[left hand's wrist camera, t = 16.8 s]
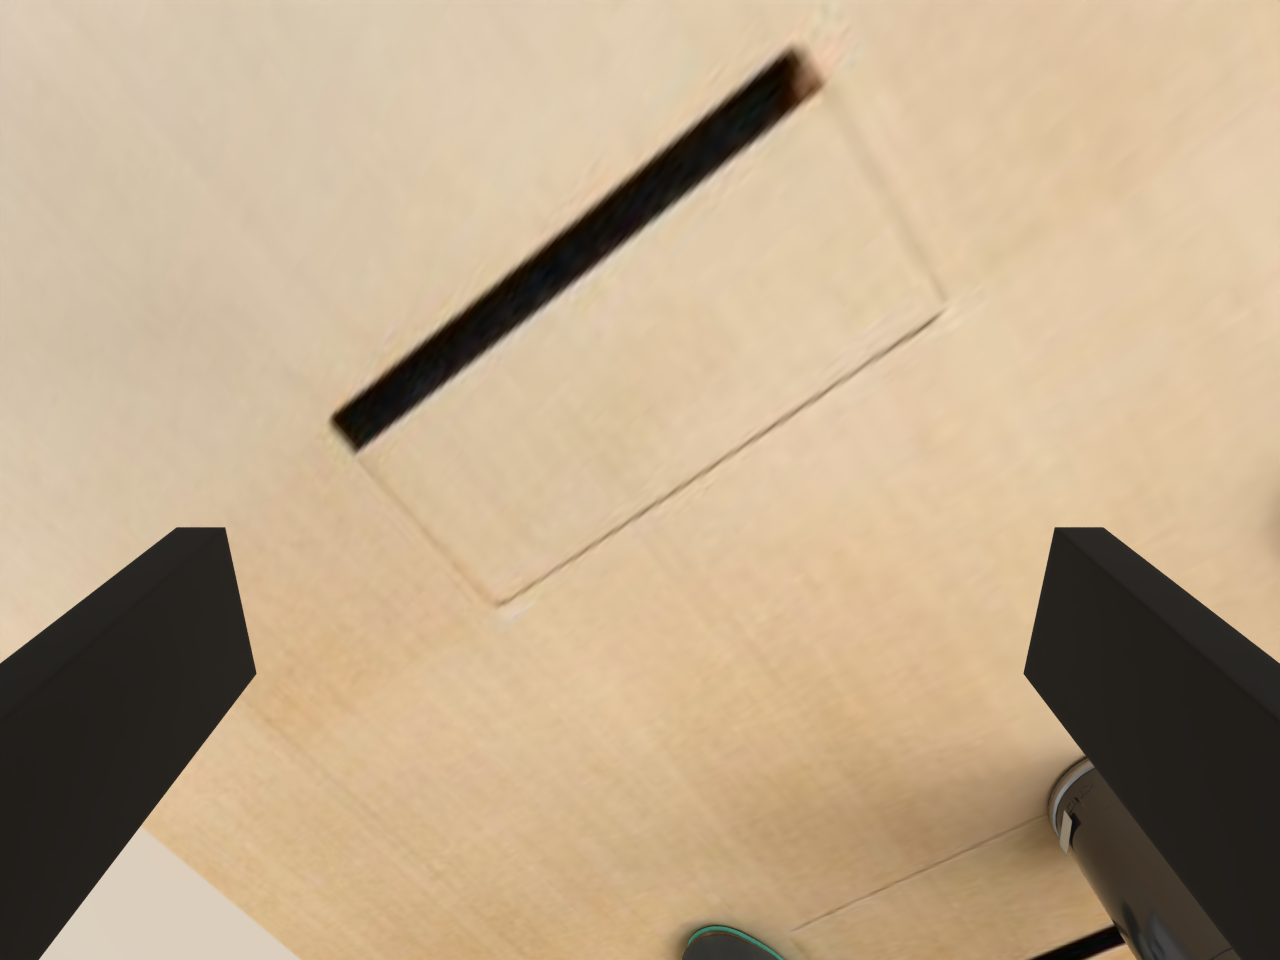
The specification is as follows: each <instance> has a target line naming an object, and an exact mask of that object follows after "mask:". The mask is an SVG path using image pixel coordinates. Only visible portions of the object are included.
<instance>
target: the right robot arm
mask: <svg viewBox="0 0 1280 960" xmlns="http://www.w3.org/2000/svg"><path fill="white" fill-rule="evenodd" d="M1048 817H1049V821H1050V824H1051V826H1052V828H1053V830H1054V831H1055V833H1056V835H1057V836H1058V838H1059V839H1060V843H1059V844H1060V846H1061V847H1062V849H1063V851H1064V852H1065V854H1066V855H1067V851H1069V852H1070V854H1071V855H1072V857H1073V859H1074V860H1075V862H1076V863H1077V865H1078V867H1079V868H1080V870H1081V872H1082V873H1083V875H1084V877H1085V878H1086V880H1087V882H1088V883H1089V885H1090V886H1091V888H1092V889H1093V891H1094V893H1095V894H1096V896H1097V897H1098V899H1099V901H1100V902H1101V904H1102V905H1103V907H1104V909H1105V910H1106V912H1107V913H1108V915H1109V916H1110V918H1111V920H1112V921H1113V923H1114V924H1115V926H1116V928H1117V929H1118V931H1119V932H1120V934H1121V936H1122V937H1123V939H1124V940H1125V942H1126V944H1127V945H1128V947H1129V948H1130V950H1131V951H1132V953H1133V955H1134V956H1135V958H1136V959H1137V960H1241V959H1240V957H1239V956H1238V955H1237V953H1236V952H1235V951H1234V950H1233V948H1232V947H1231V946H1230V944H1229V943H1228V942H1227V940H1226V939H1225V938H1224V936H1223V935H1222V934H1221V932H1220V931H1219V930H1218V928H1217V927H1216V926H1215V925H1214V923H1213V922H1212V921H1211V919H1210V918H1209V917H1208V915H1207V914H1206V913H1205V911H1204V910H1203V909H1202V907H1201V906H1200V905H1199V904H1198V902H1197V901H1196V900H1195V898H1194V897H1193V896H1192V894H1191V893H1190V892H1189V890H1188V889H1187V888H1186V886H1185V885H1184V884H1183V883H1182V881H1181V880H1180V879H1179V877H1178V876H1177V875H1176V873H1175V872H1174V871H1173V869H1172V868H1171V867H1170V865H1169V864H1168V863H1167V862H1166V860H1165V859H1164V858H1163V856H1162V855H1161V854H1160V852H1159V851H1158V850H1157V848H1156V847H1155V846H1154V844H1153V843H1152V842H1151V840H1150V839H1149V838H1148V837H1147V835H1146V834H1145V833H1144V831H1143V830H1142V829H1141V827H1140V826H1139V825H1138V823H1137V822H1136V821H1135V819H1134V818H1133V817H1132V816H1131V814H1130V813H1129V812H1128V810H1127V809H1126V808H1125V806H1124V805H1123V804H1122V802H1121V801H1120V800H1119V798H1118V797H1117V796H1116V795H1115V793H1114V792H1113V791H1112V789H1111V788H1110V787H1109V785H1108V784H1107V783H1106V781H1105V780H1104V779H1103V777H1102V776H1101V775H1100V774H1099V772H1098V771H1097V770H1096V768H1095V767H1094V766H1093V764H1092V763H1091V762H1090V760H1089V759H1088V758H1086V759H1085V760H1083V761H1081V762H1079V763H1078V764H1077V765H1075V766H1074V767H1073V768H1071V769H1070V770H1069V771H1068V772H1067V773H1066V774H1065V775H1064V776H1063V777H1062V778H1061V779H1060V780H1059V782H1058V783H1057V784H1056V786H1055V788H1054V790H1053V792H1052V794H1051V797H1050V799H1049V804H1048Z"/></svg>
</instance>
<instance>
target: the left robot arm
mask: <svg viewBox="0 0 1280 960" xmlns="http://www.w3.org/2000/svg"><path fill="white" fill-rule="evenodd" d="M255 675H256V669H255V664H254V660H253V655H252V650H251V646H250V641H249V636H248V632H247V627H246V622H245V618H244V613H243V608H242V604H241V599H240V594H239V590H238V585H237V580H236V576H235V571H234V566H233V562H232V557H231V552H230V548H229V543H228V538H227V534H226V529H225V527H177V528H175V529H174V530H173V531H171V532H170V533H169V534H168V535H166V536H165V537H164V538H162V539H161V540H160V541H159V542H157V543H156V544H155V545H153V546H152V547H151V548H149V549H148V550H147V551H146V552H144V553H143V554H142V555H140V556H139V557H138V558H136V559H135V560H134V561H133V562H131V563H130V564H129V565H127V566H126V567H125V568H124V569H122V570H121V571H120V572H118V573H117V574H116V575H114V576H113V577H112V578H111V579H109V580H108V581H107V582H105V583H104V584H103V585H101V586H100V587H99V588H98V589H96V590H95V591H94V592H92V593H91V594H90V595H89V596H87V597H86V598H85V599H83V600H82V601H81V602H79V603H78V604H77V605H76V606H74V607H73V608H72V609H70V610H69V611H68V612H67V613H65V614H64V615H63V616H61V617H60V618H59V619H57V620H56V621H55V622H54V623H52V624H51V625H50V626H48V627H47V628H46V629H44V630H43V631H42V632H41V633H39V634H38V635H37V636H35V637H34V638H33V639H32V640H30V641H29V642H28V643H26V644H25V645H24V646H22V647H21V648H20V649H19V650H17V651H16V652H15V653H13V654H12V655H11V656H9V657H8V658H7V659H6V660H4V661H3V662H2V663H0V960H39V959H40V957H41V956H42V955H43V953H44V952H45V951H46V950H47V948H48V947H49V946H50V944H51V943H52V942H53V940H54V939H55V938H56V936H57V935H58V934H59V932H60V931H61V930H62V928H63V927H64V926H65V925H66V923H67V922H68V921H69V919H70V918H71V917H72V915H73V914H74V913H75V911H76V910H77V909H78V907H79V906H80V905H81V904H82V902H83V901H84V900H85V898H86V897H87V896H88V894H89V893H90V892H91V890H92V889H93V888H94V886H95V885H96V884H97V883H98V881H99V880H100V879H101V877H102V876H103V875H104V873H105V872H106V871H107V869H108V868H109V867H110V865H111V864H112V863H113V862H114V860H115V859H116V858H117V856H118V855H119V854H120V852H121V851H122V850H123V848H124V847H125V846H126V844H127V843H128V842H129V840H130V839H131V838H132V837H133V835H134V834H135V833H136V831H137V830H138V829H139V827H140V826H141V825H142V823H143V822H144V821H145V819H146V818H147V817H148V816H149V814H150V813H151V812H152V810H153V809H154V808H155V806H156V805H157V804H158V802H159V801H160V800H161V798H162V797H163V796H164V795H165V793H166V792H167V791H168V789H169V788H170V787H171V785H172V784H173V783H174V781H175V780H176V779H177V777H178V776H179V775H180V773H181V772H182V771H183V770H184V768H185V767H186V766H187V764H188V763H189V762H190V760H191V759H192V758H193V756H194V755H195V754H196V752H197V751H198V750H199V749H200V747H201V746H202V745H203V743H204V742H205V741H206V739H207V738H208V737H209V735H210V734H211V733H212V731H213V730H214V729H215V728H216V726H217V725H218V724H219V722H220V721H221V720H222V718H223V717H224V716H225V714H226V713H227V712H228V710H229V709H230V708H231V707H232V705H233V704H234V703H235V701H236V700H237V699H238V697H239V696H240V695H241V693H242V692H243V691H244V689H245V688H246V687H247V685H248V684H249V683H250V682H251V680H252V679H253V678H254V676H255ZM1024 675H1025V676H1026V678H1027V679H1028V680H1029V682H1030V683H1031V684H1032V685H1033V687H1034V688H1035V689H1036V691H1037V692H1038V693H1039V695H1040V696H1041V697H1042V699H1043V700H1044V701H1045V703H1046V704H1047V705H1048V707H1049V708H1050V709H1051V710H1052V712H1053V713H1054V714H1055V716H1056V717H1057V718H1058V720H1059V721H1060V722H1061V724H1062V725H1063V726H1064V728H1065V729H1066V730H1067V731H1068V733H1069V734H1070V735H1071V737H1072V738H1073V739H1074V741H1075V742H1076V743H1077V745H1078V746H1079V747H1080V749H1081V750H1082V751H1083V752H1084V754H1085V755H1086V756H1087V758H1088V759H1089V760H1090V762H1091V763H1092V764H1093V766H1094V767H1095V768H1096V770H1097V771H1098V772H1099V774H1100V775H1101V776H1102V777H1103V779H1104V780H1105V781H1106V783H1107V784H1108V785H1109V787H1110V788H1111V789H1112V791H1113V792H1114V793H1115V795H1116V796H1117V797H1118V798H1119V800H1120V801H1121V802H1122V804H1123V805H1124V806H1125V808H1126V809H1127V810H1128V812H1129V813H1130V814H1131V816H1132V817H1133V818H1134V819H1135V821H1136V822H1137V823H1138V825H1139V826H1140V827H1141V829H1142V830H1143V831H1144V833H1145V834H1146V835H1147V837H1148V838H1149V839H1150V840H1151V842H1152V843H1153V844H1154V846H1155V847H1156V848H1157V850H1158V851H1159V852H1160V854H1161V855H1162V856H1163V858H1164V859H1165V860H1166V862H1167V863H1168V864H1169V865H1170V867H1171V868H1172V869H1173V871H1174V872H1175V873H1176V875H1177V876H1178V877H1179V879H1180V880H1181V881H1182V883H1183V884H1184V885H1185V886H1186V888H1187V889H1188V890H1189V892H1190V893H1191V894H1192V896H1193V897H1194V898H1195V900H1196V901H1197V902H1198V904H1199V905H1200V906H1201V907H1202V909H1203V910H1204V911H1205V913H1206V914H1207V915H1208V917H1209V918H1210V919H1211V921H1212V922H1213V923H1214V925H1215V926H1216V927H1217V928H1218V930H1219V931H1220V932H1221V934H1222V935H1223V936H1224V938H1225V939H1226V940H1227V942H1228V943H1229V944H1230V946H1231V947H1232V948H1233V950H1234V951H1235V952H1236V953H1237V955H1238V956H1239V957H1240V959H1241V960H1280V663H1278V662H1277V661H1276V660H1274V659H1273V658H1272V657H1271V656H1269V655H1268V654H1267V653H1265V652H1264V651H1263V650H1261V649H1260V648H1259V647H1258V646H1256V645H1255V644H1254V643H1252V642H1251V641H1250V640H1248V639H1247V638H1246V637H1245V636H1243V635H1242V634H1241V633H1239V632H1238V631H1237V630H1236V629H1234V628H1233V627H1232V626H1230V625H1229V624H1228V623H1226V622H1225V621H1224V620H1223V619H1221V618H1220V617H1219V616H1217V615H1216V614H1215V613H1213V612H1212V611H1211V610H1210V609H1208V608H1207V607H1206V606H1204V605H1203V604H1202V603H1201V602H1199V601H1198V600H1197V599H1195V598H1194V597H1193V596H1191V595H1190V594H1189V593H1188V592H1186V591H1185V590H1184V589H1182V588H1181V587H1180V586H1179V585H1177V584H1176V583H1175V582H1173V581H1172V580H1171V579H1169V578H1168V577H1167V576H1166V575H1164V574H1163V573H1162V572H1160V571H1159V570H1158V569H1156V568H1155V567H1154V566H1153V565H1151V564H1150V563H1149V562H1147V561H1146V560H1145V559H1144V558H1142V557H1141V556H1140V555H1138V554H1137V553H1136V552H1134V551H1133V550H1132V549H1131V548H1129V547H1128V546H1127V545H1125V544H1124V543H1123V542H1121V541H1120V540H1119V539H1118V538H1116V537H1115V536H1114V535H1112V534H1111V533H1110V532H1109V531H1107V530H1106V529H1105V528H1103V527H1055V529H1054V534H1053V538H1052V543H1051V548H1050V552H1049V557H1048V562H1047V566H1046V571H1045V576H1044V580H1043V585H1042V590H1041V594H1040V599H1039V604H1038V608H1037V613H1036V618H1035V622H1034V627H1033V632H1032V636H1031V641H1030V646H1029V650H1028V655H1027V660H1026V664H1025V669H1024Z"/></svg>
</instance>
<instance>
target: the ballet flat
mask: <svg viewBox="0 0 1280 960" xmlns="http://www.w3.org/2000/svg"><path fill="white" fill-rule="evenodd" d="M682 960H784V959H783V958H781V957H780V956H779V955H777V954H776V953H775V952H773V951H772V950H771V949H769V948H768V947H766V946H765V945H763V944H761V943H760V942H758V941H756V940H755V939H753V938H751V937H749V936H747V935H745V934H743V933H741V932H739V931H737V930H734V929H731V928H727V927H722V926H711V927H707V928H704V929H701V930H699V931H698V932H696V933H695V934H694V935H693V936H692V937H691V938H690V940H689V942H688V945H687V949H686V951H685V952H684V955H683V958H682Z"/></svg>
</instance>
